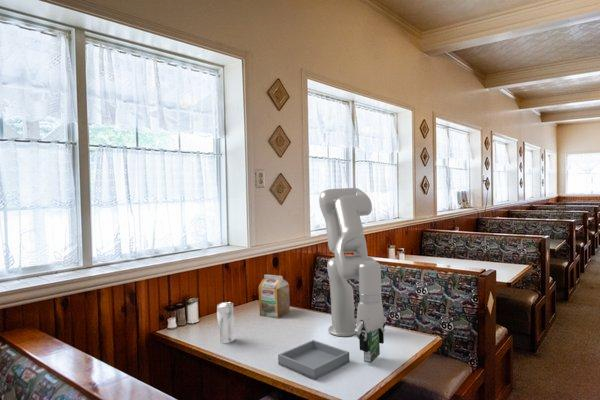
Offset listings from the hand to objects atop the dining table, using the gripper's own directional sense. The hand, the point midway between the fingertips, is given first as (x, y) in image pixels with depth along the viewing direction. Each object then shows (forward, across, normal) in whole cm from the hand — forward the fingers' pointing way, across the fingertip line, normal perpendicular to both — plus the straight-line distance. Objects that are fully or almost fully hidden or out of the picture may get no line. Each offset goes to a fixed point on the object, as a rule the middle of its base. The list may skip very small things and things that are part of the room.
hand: (371, 346), depth 143 cm
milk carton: (+7, -13, -67) cm, 69 cm away
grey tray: (+5, +14, -14) cm, 21 cm away
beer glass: (+6, +22, -56) cm, 61 cm away
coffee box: (+4, 0, 0) cm, 4 cm away
